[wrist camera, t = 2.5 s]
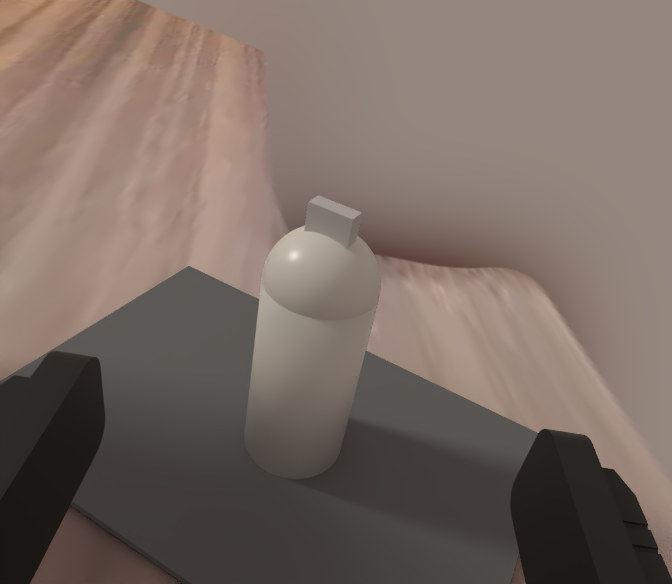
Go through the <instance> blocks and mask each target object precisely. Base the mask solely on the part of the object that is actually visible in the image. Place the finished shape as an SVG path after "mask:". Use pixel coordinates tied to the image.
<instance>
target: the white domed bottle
mask: <svg viewBox="0 0 672 584" xmlns="http://www.w3.org/2000/svg"><path fill="white" fill-rule="evenodd" d="M361 214H362V213H361V212H359V211H356V210H354V209H351V208H349V207H346V206H344V205H341V204H339V203H336V202H334V201H331V200H328V199H326V198H323V197H321V196H317V197H315V198H314V199H312V200H311V201H309V203H308V209H307V216H306V222H305V226H302V227H300V228H297V229H295V230H293V231H291V232H290V233H288V234H286V235H285V236H284V237H283V238H282V239H281V240H279V241H278V242H277V244H276V245H275V246H274V247H273V249H272V250H271V252H270V254H269V255H268V257H267V259H266V262H265V265H264V268H263V273H262V280H261V289H260V298H259V307H258V316H257V325H256V334H255V343H254V352H253V361H252V370H251V379H250V388H249V397H248V407H247V416H246V425H245V434H244V441H245V446H246V449H247V452H248V454H249V455H250V457H251V458H252V460H253V461H254V462H255V463H256V464H257V465H258V466H259V467H261V468H262V469H264V470H265V471H267V472H269V473H271V474H273V475H276V476H279V477H283V478H288V479H305V478H310V477H314V476H317V475H319V474H321V473H323V472H325V471H326V470H328V469H329V468H330V467H331V466H332V465H333V464H334V463H335V461H336V460H337V458H338V456H339V453H340V450H341V446H342V442H343V438H344V434H345V430H346V426H347V422H348V419H349V415H350V411H351V407H352V403H353V399H354V395H355V391H356V387H357V383H358V379H359V375H360V371H361V367H362V363H363V360H364V356H365V352H366V348H367V344H368V340H369V336H370V332H371V328H372V324H373V320H374V316H375V312H376V308H377V305H378V301H379V296H380V290H381V276H380V270H379V266H378V263H377V260H376V258H375V256H374V254H373V252H372V251H371V249H370V248H369V247H368V245H367V244H366V243H365V242H364V241H363V240H362V239H361V238H360V237H359V236H357V233H358V229H359V224H360V219H361Z"/></svg>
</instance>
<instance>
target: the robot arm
mask: <svg viewBox="0 0 672 584" xmlns="http://www.w3.org/2000/svg"><path fill="white" fill-rule="evenodd" d="M104 427H105V408H104V398H103V387H102V376H101V366H100V362H99V359H98V358H97V357H92V356H86V355H79V354H73V353H67V352H60V351H52V352H50V353H49V354H47V356H46V357H45V358H44V359H43V361H42V362H41V363H40V365H39V366H38V368H37V369H36V370H35V372H34V373H33V374H32V376H31V377H23V376H17V375H14V376H12V377H11V378H9V379H8V380H6V381H5V382H3V383H2V384H0V584H30V582H31V580H32V578H33V576H34V574H35V572H36V570H37V569H38V567H39V565H40V563H41V561H42V559H43V557H44V555H45V553H46V551H47V549H48V547H49V545H50V543H51V541H52V539H53V537H54V535H55V533H56V531H57V529H58V528H59V526H60V524H61V522H62V520H63V518H64V516H65V514H66V512H67V510H68V508H69V506H70V504H71V502H72V500H73V498H74V496H75V494H76V492H77V490H78V488H79V486H80V485H81V483H82V481H83V479H84V477H85V475H86V473H87V471H88V469H89V467H90V465H91V463H92V461H93V459H94V457H95V455H96V453H97V451H98V449H99V446H100V444H101V441H102V437H103V433H104ZM510 509H511V517H512V522H513V526H514V531H515V535H516V540H517V545H518V549H519V554H520V559H521V563H522V568H523V573H524V577H525V582H526V584H672V579H671V577H670V574H669V572H668V570H667V567H666V565H665V563H664V560H663V558H662V556H661V554H658V546H657V544H656V542H655V539H654V537H653V535H652V532H651V530H648V528H647V526H648V523H647V521H646V519H645V516H644V514H643V512H642V509H641V507H640V505H639V502H638V500H637V498H636V496H635V494H634V493H633V492H632V491H631V490H630V488H629V487H628V486H627V485H626V484H625V482H624V481H623V480H622V479H621V478H620V476H619V475H618V474H617V473H616V472H615V470H614V469H608V468H602V467H601V464H600V462H599V459H598V457H597V454H596V452H595V449H594V447H593V444H592V442H591V440H590V439H589V438H588V437H587V436H585V435H581V434H574V433H568V432H562V431H555V430H549V429H543V430H541V431H540V432H539V433H538V435H537V437H536V439H535V441H534V443H533V445H532V447H531V449H530V450H529V452H528V454H527V456H526V458H525V460H524V462H523V464H522V466H521V468H520V470H519V472H518V474H517V476H516V478H515V480H514V483H513V486H512V491H511V499H510Z"/></svg>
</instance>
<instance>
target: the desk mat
mask: <svg viewBox="0 0 672 584" xmlns="http://www.w3.org/2000/svg"><path fill="white" fill-rule="evenodd" d="M258 307H259V299H257V298H255V297H253V296H251V295H249V294H246V293H244V292H242V291H240V290H238V289H236V288H234V287H232V286H230V285H228V284H226V283H224V282H221V281H219V280H217V279H215V278H213V277H211V276H209V275H207V274H205V273H203V272H201V271H198V270H196V269H194V268H192V267H190V266H188V267H186V268H185V269H183V270H181V271H180V272H178V273H177V274H175V275H173V276H172V277H170V278H168V279H167V280H165V281H163V282H162V283H160V284H159V285H157V286H155V287H154V288H152V289H150V290H149V291H147V292H146V293H144V294H142V295H141V296H139V297H137V298H136V299H134V300H132V301H131V302H129V303H128V304H126V305H124V306H123V307H121V308H119V309H118V310H116V311H114V312H113V313H111V314H110V315H108V316H106V317H105V318H103V319H101V320H100V321H98V322H97V323H95V324H93V325H92V326H90V327H88V328H87V329H85V330H83V331H82V332H80V333H79V334H77V335H75V336H74V337H72V338H70V339H69V340H67V341H65V342H64V343H62V344H61V345H59V346H57V347H56V348H54V349H52V350H51V351H49V352H48V353H46V354H44V355H43V356H41V357H39V358H38V359H36V360H34V361H33V362H31V363H30V364H28V365H26V366H25V367H23V368H21V369H20V370H18V371H17V372H15V373H13V374H12V375H10V376H8V377H7V378H5V379H3V380H2V381H0V384H2V383H3V382H5V381H6V380H8V379H9V378H11V377H12V376H14V375H17V376H23V377H31V376H32V374H33V373H34V372H35V370H36V369H37V368H38V366H39V365H40V363H41V362H42V361H43V359H44V358H45V357H46V356H47V354H49V353H50V352H52V351H60V352H67V353H73V354H79V355H86V356H92V357H97V358H98V359H99V362H100V366H101V376H102V387H103V398H104V408H105V427H104V433H103V437H102V441H101V444H100V446H99V449H98V451H97V453H96V455H95V457H94V459H93V461H92V463H91V465H90V467H89V469H88V471H87V473H86V475H85V477H84V479H83V481H82V483H81V485H80V486H79V488H78V490H77V492H76V494H75V496H74V498H73V500H72V502H71V504H70V505H71V506H72V507H74V508H75V509H76V510H78V511H79V512H81V513H82V514H84V515H85V516H86V517H88V518H89V519H91V520H92V521H94V522H95V523H97V524H98V525H99V526H101V527H102V528H104V529H105V530H107V531H108V532H110V533H111V534H112V535H114V536H115V537H117V538H118V539H120V540H121V541H122V542H124V543H125V544H127V545H128V546H130V547H131V548H133V549H134V550H135V551H137V552H138V553H140V554H141V555H143V556H144V557H146V558H147V559H148V560H150V561H151V562H153V563H154V564H156V565H157V566H158V567H160V568H161V569H163V570H164V571H166V572H167V573H169V574H170V575H171V576H173V577H174V578H176V579H177V580H179V581H180V582H181V583H183V584H510V583H511V580H512V576H513V573H514V570H515V566H516V563H517V560H518V556H519V549H518V545H517V540H516V535H515V531H514V526H513V522H512V517H511V509H510V499H511V491H512V486H513V483H514V480H515V478H516V476H517V474H518V472H519V470H520V468H521V466H522V464H523V462H524V460H525V458H526V456H527V454H528V452H529V450H530V449H531V447H532V445H533V443H534V441H535V439H536V437H537V435H538V433H537V432H534V431H532V430H530V429H528V428H526V427H524V426H522V425H520V424H518V423H516V422H514V421H512V420H509V419H507V418H505V417H503V416H501V415H499V414H497V413H495V412H493V411H491V410H489V409H486V408H484V407H482V406H480V405H478V404H476V403H474V402H472V401H470V400H468V399H466V398H464V397H461V396H459V395H457V394H455V393H453V392H451V391H449V390H447V389H445V388H443V387H441V386H438V385H436V384H434V383H432V382H430V381H428V380H426V379H424V378H422V377H420V376H418V375H416V374H413V373H411V372H409V371H407V370H405V369H403V368H401V367H399V366H397V365H395V364H393V363H390V362H388V361H386V360H384V359H382V358H380V357H378V356H376V355H374V354H372V353H370V352H368V351H366V352H365V356H364V360H363V363H362V367H361V371H360V375H359V379H358V383H357V387H356V391H355V395H354V399H353V403H352V407H351V411H350V415H349V419H348V422H347V426H346V430H345V434H344V438H343V442H342V446H341V450H340V453H339V456H338V458H337V460H336V461H335V463H334V464H333V465H332V466H331V467H330V468H329V469H328V470H326V471H325V472H323V473H321V474H319V475H317V476H314V477H310V478H305V479H288V478H283V477H279V476H276V475H273V474H271V473H269V472H267V471H265V470H264V469H262V468H261V467H259V466H258V465H257V464H256V463H255V462H254V461H253V460H252V458H251V457H250V455H249V454H248V452H247V449H246V446H245V441H244V434H245V425H246V416H247V407H248V397H249V388H250V379H251V370H252V361H253V352H254V343H255V334H256V325H257V316H258Z"/></svg>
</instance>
